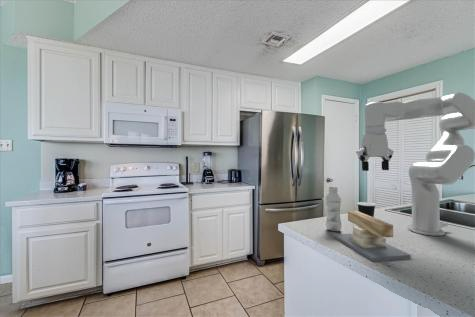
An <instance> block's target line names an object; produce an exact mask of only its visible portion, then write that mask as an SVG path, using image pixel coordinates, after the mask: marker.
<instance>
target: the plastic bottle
mask: <svg viewBox="0 0 475 317" xmlns="http://www.w3.org/2000/svg"><path fill="white" fill-rule="evenodd" d="M338 191H339V190H338V187H335V186H331V187H330V186H329V187H328V193H327V194H326V196H325V204H326V213H327V214H326V221H325V228H326V229H327V230H328V231H331V232H340V231H341V230H342V227H343V226H342V221H341V203H342V202H341V201H342V199H341V197H340V195H339V193H338Z"/></svg>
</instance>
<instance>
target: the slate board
mask: <svg viewBox="0 0 475 317" xmlns="http://www.w3.org/2000/svg"><path fill="white" fill-rule="evenodd" d="M333 238H334V239H335V240H337V241H338V242H340V243H342V244H344V245H346V246H347V247H348V248H350V249H352V250H353V251H355V252H356V253H358V254H359V255H362V256H363V257H364V258H366V259H368V260H369V261H370V262H374V263H375V262H381V261H382V262H383V261H394V260H408V259H411V257H412V256H411V254H410V253H409V252H408V253H407V251H403V250H402V249H399V248H397V247H395V246H393V245H391V244H388V243H387V242H386V246H384V247H370V248H362V247H361V246H359V245H357V244H355V243H354V242H352V241H351V233H338V234H333Z"/></svg>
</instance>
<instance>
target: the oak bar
mask: <svg viewBox="0 0 475 317" xmlns="http://www.w3.org/2000/svg"><path fill="white" fill-rule="evenodd" d="M347 222H350V223H353V224H354V225H356V226H360V227H362V228H364V229H366V230H368V231H370V232H372V233H374V234H376V235H378V236H380V237H384V238H394V224H392V223H389V222H386V221H383V220H381V219H378V218H376V217H375V216H374V217H371V216H369V215H366V214H364V213H361V212H359V210H348V211H347Z"/></svg>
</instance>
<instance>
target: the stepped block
mask: <svg viewBox="0 0 475 317" xmlns="http://www.w3.org/2000/svg"><path fill="white" fill-rule="evenodd" d="M350 234H351V241H352V242H354V243H355V244H357V245H359V246H361V247H362V248H370V247H384V246H386V243H387V242H386V239H387V237H380V236H378V235H376V234H374V233H372V232H370V231H368V230H366V229H364V228H362V227H360V226H358V225H356V226H352V232H350Z"/></svg>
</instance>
